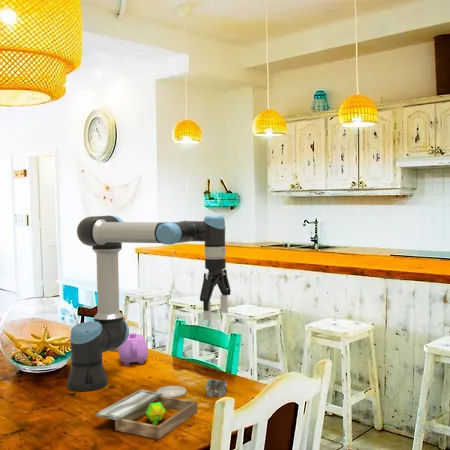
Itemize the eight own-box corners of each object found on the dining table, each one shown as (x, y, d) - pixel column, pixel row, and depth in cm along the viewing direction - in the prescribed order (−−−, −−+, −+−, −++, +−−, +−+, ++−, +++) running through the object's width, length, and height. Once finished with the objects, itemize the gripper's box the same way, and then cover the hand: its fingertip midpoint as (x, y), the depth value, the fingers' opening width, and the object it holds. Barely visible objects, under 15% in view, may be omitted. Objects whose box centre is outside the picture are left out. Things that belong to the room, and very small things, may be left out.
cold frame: (95, 427, 170) (95, 413, 170) (140, 401, 192) (140, 389, 192) (158, 440, 160) (158, 425, 160) (197, 411, 182) (197, 398, 182)
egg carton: (225, 398, 195) (224, 387, 195) (204, 397, 196) (204, 386, 196) (228, 388, 206) (228, 377, 205) (208, 387, 207) (208, 376, 206)
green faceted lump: (151, 394, 178) (159, 403, 170) (166, 404, 180) (174, 414, 171) (137, 413, 176) (145, 423, 168) (152, 423, 178) (160, 433, 170)
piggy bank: (150, 367, 233) (149, 337, 232) (120, 369, 230) (119, 339, 229) (145, 354, 252) (145, 327, 252) (118, 356, 249) (117, 329, 249)
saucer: (150, 394, 199) (150, 393, 198) (166, 385, 208) (166, 384, 208) (176, 399, 194) (176, 397, 194) (191, 389, 204) (191, 388, 204)
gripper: (208, 261, 186) (209, 323, 187) (238, 255, 209) (239, 310, 209) (189, 261, 189) (190, 321, 190) (221, 254, 212) (222, 309, 213)
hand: (216, 316), depth 200 cm, fingers open, 13 cm apart
